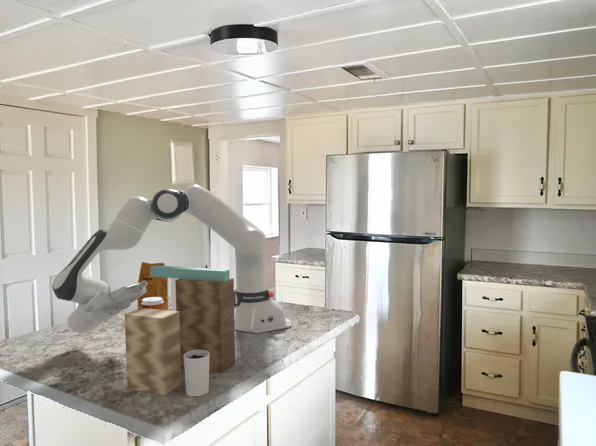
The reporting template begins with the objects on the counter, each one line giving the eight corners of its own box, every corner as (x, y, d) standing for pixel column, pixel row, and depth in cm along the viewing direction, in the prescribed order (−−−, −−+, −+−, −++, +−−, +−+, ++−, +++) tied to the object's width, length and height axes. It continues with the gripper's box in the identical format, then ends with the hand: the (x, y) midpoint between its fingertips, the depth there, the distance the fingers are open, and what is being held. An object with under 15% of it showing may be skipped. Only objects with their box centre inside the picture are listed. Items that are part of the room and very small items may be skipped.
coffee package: (147, 308, 203) (146, 260, 202) (171, 310, 200) (170, 261, 198) (133, 314, 194) (131, 263, 193) (158, 316, 190) (156, 264, 189)
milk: (183, 316, 190) (182, 264, 188) (193, 319, 186) (192, 265, 185) (171, 320, 185) (170, 266, 183) (181, 322, 181) (180, 267, 180)
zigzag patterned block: (127, 388, 120) (124, 314, 119) (144, 378, 127) (142, 307, 125) (165, 395, 116) (162, 318, 115) (181, 384, 122) (179, 311, 121)
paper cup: (158, 341, 158) (156, 301, 157) (138, 340, 160) (136, 301, 159) (168, 334, 166) (167, 296, 165) (149, 333, 167) (148, 296, 166)
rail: (150, 276, 140) (149, 266, 139) (156, 274, 142) (156, 265, 142) (224, 281, 131) (224, 271, 130) (229, 279, 133) (229, 269, 133)
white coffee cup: (179, 395, 116) (178, 357, 115) (193, 384, 122) (193, 348, 121) (201, 399, 114) (200, 360, 113) (215, 388, 120) (214, 351, 119)
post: (177, 366, 135) (175, 280, 133) (192, 357, 143) (190, 275, 141) (221, 372, 130) (220, 283, 128) (235, 362, 138) (233, 278, 136)
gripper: (77, 303, 139) (107, 283, 134) (124, 289, 158) (151, 271, 154) (86, 321, 138) (116, 302, 134) (132, 305, 157) (160, 288, 153)
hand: (135, 285), depth 144 cm, fingers open, 8 cm apart
